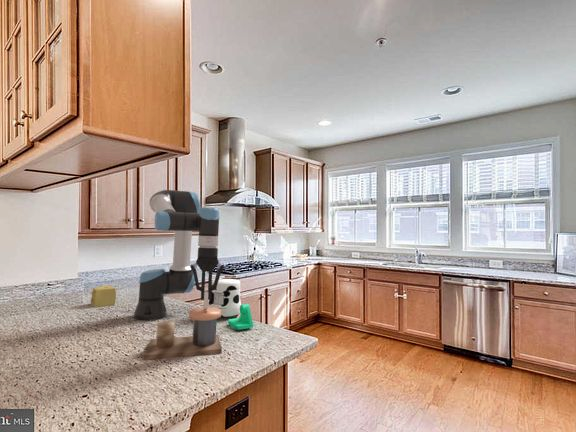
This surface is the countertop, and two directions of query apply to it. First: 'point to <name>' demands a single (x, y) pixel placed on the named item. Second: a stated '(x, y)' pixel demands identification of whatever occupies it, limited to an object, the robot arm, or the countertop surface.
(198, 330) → the tube
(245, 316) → the camera mount
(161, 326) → the brown board with post
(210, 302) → the milk container
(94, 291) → the cheese
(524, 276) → the countertop surface
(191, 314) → the domed pot lid
